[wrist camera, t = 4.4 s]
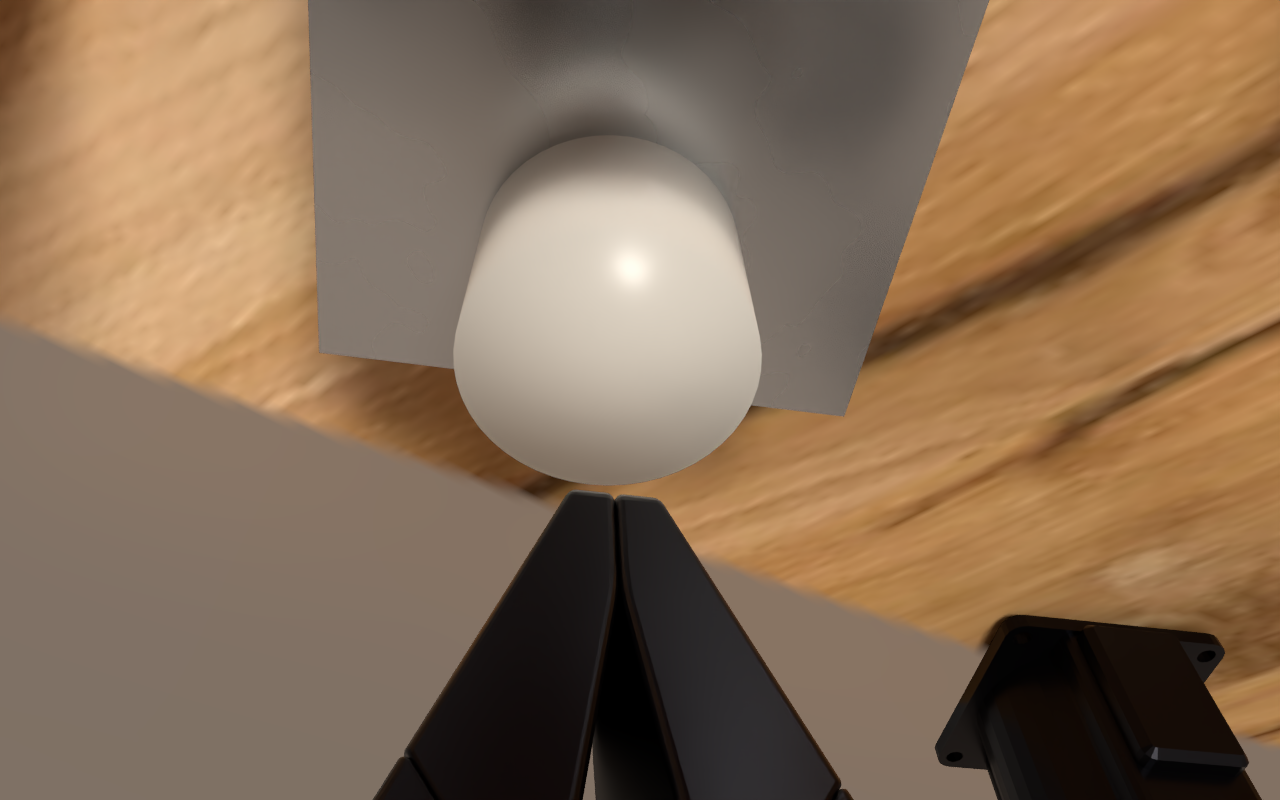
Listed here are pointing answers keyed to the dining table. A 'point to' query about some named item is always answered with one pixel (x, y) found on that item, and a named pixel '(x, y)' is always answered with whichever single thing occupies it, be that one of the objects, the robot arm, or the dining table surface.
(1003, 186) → the dining table surface
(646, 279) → the knob
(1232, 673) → the dining table surface
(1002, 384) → the dining table surface
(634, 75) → the console
